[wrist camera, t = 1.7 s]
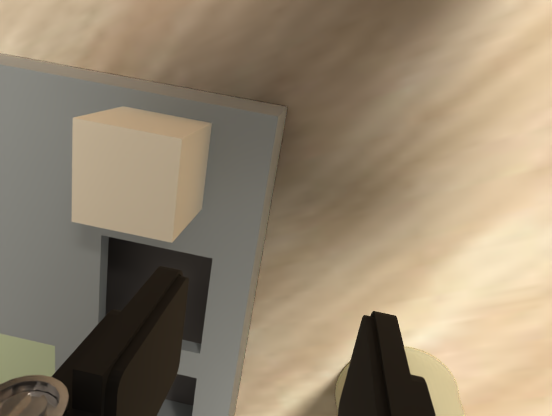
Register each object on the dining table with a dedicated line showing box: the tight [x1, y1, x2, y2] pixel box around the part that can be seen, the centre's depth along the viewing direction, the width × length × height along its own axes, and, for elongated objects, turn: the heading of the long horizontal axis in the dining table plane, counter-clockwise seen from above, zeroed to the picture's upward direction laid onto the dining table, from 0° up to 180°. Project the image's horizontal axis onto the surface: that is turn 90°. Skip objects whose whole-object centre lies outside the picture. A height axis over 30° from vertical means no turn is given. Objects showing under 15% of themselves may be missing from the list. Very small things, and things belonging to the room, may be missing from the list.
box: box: [0, 53, 288, 416], centre depth 31 cm, size 26×22×5 cm
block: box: [71, 106, 212, 243], centre depth 23 cm, size 5×5×5 cm
